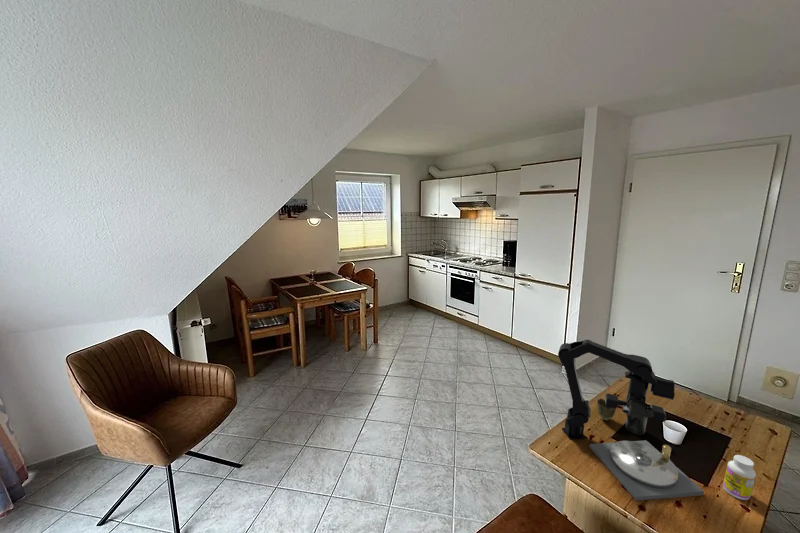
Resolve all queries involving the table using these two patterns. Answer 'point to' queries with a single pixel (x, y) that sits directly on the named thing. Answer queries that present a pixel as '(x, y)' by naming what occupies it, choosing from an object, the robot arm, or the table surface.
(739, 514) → the table surface
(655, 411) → the robot arm
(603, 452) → the plate
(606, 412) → the cup
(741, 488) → the supplement bottle
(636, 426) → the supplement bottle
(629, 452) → the grey round piece
